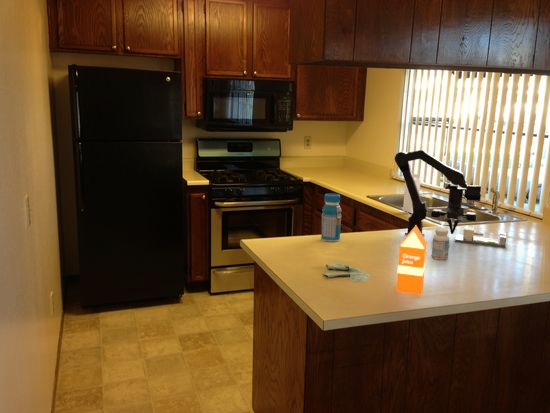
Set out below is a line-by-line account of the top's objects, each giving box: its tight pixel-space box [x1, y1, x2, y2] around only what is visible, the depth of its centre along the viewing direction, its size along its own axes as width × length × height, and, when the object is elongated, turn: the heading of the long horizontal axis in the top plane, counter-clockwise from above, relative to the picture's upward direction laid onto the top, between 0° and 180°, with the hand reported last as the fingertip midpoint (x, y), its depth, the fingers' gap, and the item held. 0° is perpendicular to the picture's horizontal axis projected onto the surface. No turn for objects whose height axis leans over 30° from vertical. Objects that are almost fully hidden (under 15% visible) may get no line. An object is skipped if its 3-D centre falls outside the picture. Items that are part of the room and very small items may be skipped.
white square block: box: [462, 226, 484, 239], centre depth 216 cm, size 8×8×4 cm
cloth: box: [322, 262, 371, 283], centre depth 172 cm, size 20×22×2 cm
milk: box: [402, 173, 422, 213], centre depth 276 cm, size 6×6×22 cm
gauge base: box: [454, 231, 507, 249], centre depth 216 cm, size 20×10×4 cm, turn 66°
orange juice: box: [396, 225, 428, 296], centre depth 156 cm, size 8×9×20 cm
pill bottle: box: [431, 227, 450, 261], centre depth 191 cm, size 6×6×11 cm
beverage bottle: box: [320, 193, 342, 243], centre depth 214 cm, size 8×8×20 cm
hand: (452, 233), depth 221 cm, fingers closed
